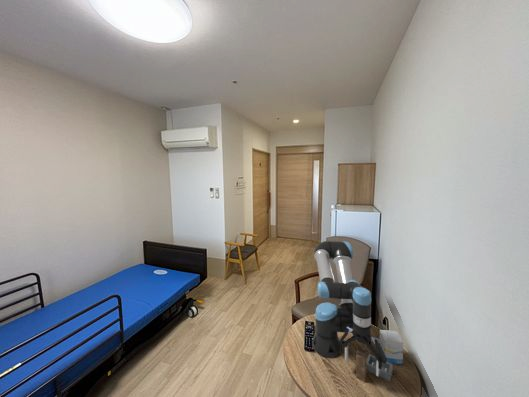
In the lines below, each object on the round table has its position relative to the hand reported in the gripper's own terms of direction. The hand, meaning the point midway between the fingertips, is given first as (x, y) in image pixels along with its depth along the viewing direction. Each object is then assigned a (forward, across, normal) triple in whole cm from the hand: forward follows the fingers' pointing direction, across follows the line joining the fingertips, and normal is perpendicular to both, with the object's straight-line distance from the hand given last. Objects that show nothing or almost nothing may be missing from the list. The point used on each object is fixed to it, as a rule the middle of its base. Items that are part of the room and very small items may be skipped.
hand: (361, 366), depth 98 cm
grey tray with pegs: (+6, +6, +9) cm, 12 cm away
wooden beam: (+6, 0, 0) cm, 6 cm away
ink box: (+6, +9, +22) cm, 24 cm away
